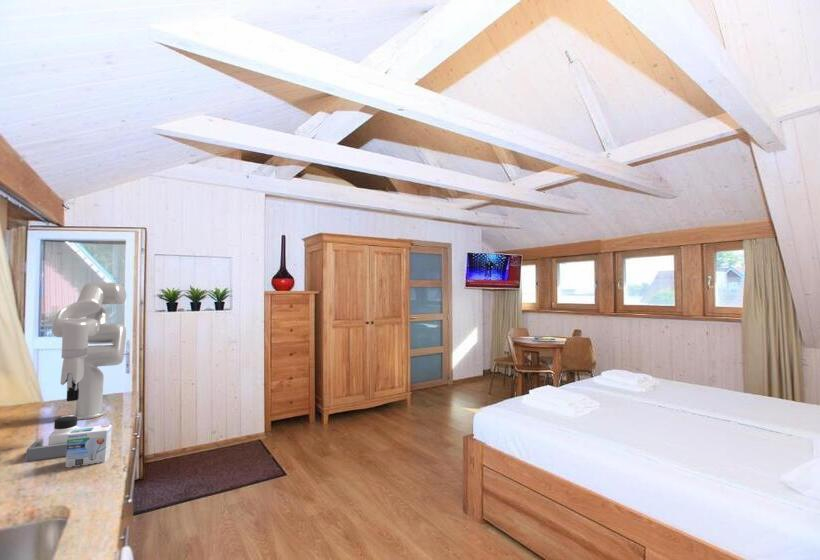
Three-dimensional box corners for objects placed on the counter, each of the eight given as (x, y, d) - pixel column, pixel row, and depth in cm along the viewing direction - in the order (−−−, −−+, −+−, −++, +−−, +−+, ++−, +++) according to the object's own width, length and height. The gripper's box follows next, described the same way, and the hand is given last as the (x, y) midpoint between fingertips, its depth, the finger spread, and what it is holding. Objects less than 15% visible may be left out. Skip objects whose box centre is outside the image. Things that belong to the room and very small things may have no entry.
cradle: (37, 450, 136) (37, 439, 136) (87, 444, 142) (88, 433, 142) (25, 461, 127) (26, 449, 127) (80, 454, 134) (80, 442, 134)
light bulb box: (64, 468, 123) (66, 434, 123) (71, 460, 129) (73, 428, 129) (106, 462, 128) (107, 430, 128) (110, 454, 134) (112, 423, 134)
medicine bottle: (74, 453, 134) (76, 418, 135) (47, 456, 131) (49, 421, 131) (80, 445, 141) (81, 412, 141) (54, 449, 137) (56, 415, 138)
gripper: (68, 349, 152) (66, 395, 152) (55, 357, 139) (53, 407, 139) (92, 348, 156) (90, 393, 156) (81, 356, 143) (79, 405, 143)
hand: (72, 400), depth 147 cm, fingers closed
